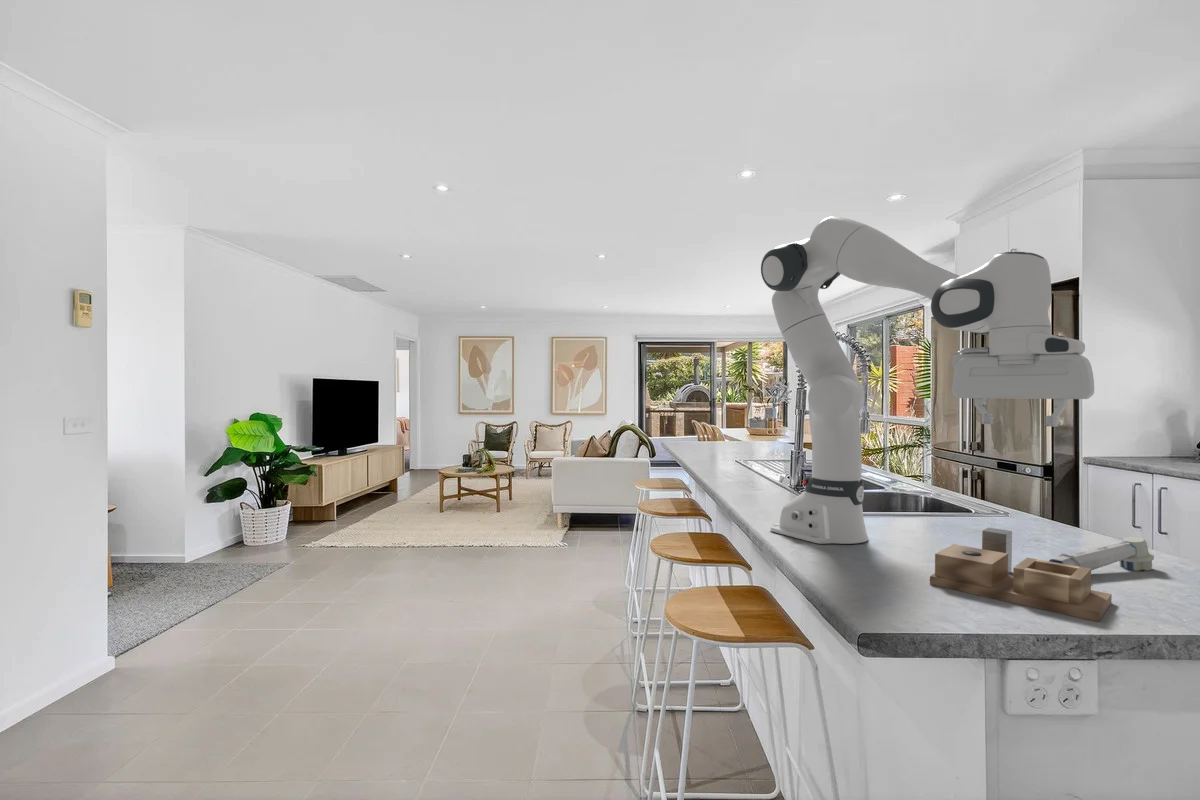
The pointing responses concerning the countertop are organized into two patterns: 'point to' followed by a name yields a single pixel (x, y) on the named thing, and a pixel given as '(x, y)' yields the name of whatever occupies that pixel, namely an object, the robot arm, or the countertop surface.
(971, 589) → the holder
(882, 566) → the countertop surface
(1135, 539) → the white handle
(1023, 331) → the robot arm
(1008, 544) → the grey rectangular block
